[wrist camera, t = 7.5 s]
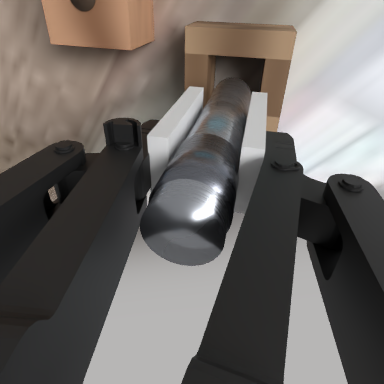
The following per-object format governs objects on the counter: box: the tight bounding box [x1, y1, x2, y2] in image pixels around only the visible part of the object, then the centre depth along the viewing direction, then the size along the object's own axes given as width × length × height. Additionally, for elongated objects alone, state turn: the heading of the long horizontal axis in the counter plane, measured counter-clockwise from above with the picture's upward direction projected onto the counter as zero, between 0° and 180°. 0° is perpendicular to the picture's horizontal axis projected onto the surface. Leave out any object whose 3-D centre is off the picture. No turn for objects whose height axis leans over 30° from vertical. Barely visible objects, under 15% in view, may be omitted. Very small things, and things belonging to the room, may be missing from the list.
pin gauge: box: [140, 78, 251, 266], centre depth 13 cm, size 3×3×13 cm
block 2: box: [185, 21, 297, 132], centre depth 22 cm, size 7×7×4 cm
